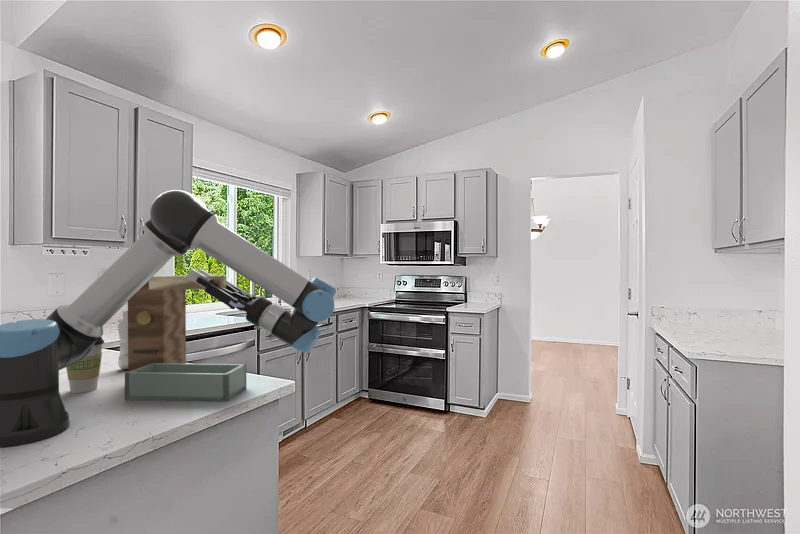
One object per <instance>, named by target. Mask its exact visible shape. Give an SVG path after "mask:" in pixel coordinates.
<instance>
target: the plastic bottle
mask: <svg viewBox="0 0 800 534" xmlns="http://www.w3.org/2000/svg"><path fill="white" fill-rule="evenodd" d="M121 317H122V319H121V320H120V322H119V323H118V324H117V330H118V336H119V337H118V338H119V356H118V362H117V365H118V367H119V369H121V370H127V369H128V309H127V310H123V311H122V315H121Z"/></svg>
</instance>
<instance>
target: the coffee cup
mask: <svg viewBox="0 0 800 534" xmlns="http://www.w3.org/2000/svg"><path fill="white" fill-rule="evenodd" d="M104 344H105V341H104V339H103V336H101V337H100V338H99V339H98V340H97V341H96V342H95V343H94V346H93V348H92V350H91V351H90V353H89V354H88V355H87V356H86V357H85V358H84V359H82V360H81V361H79V362H77V363H76V364H74V365H71V366H68V367H65V368H66V373H67V380H68V383H69V392H70V393H73V394H82V393H89V392H93V391H95V390H97V389H98V381H99V376H100V371H101V365H102V364H101V363H102V357H103V356H102V355H103V352H102V350H103V345H104Z"/></svg>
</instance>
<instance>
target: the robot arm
mask: <svg viewBox="0 0 800 534" xmlns="http://www.w3.org/2000/svg"><path fill="white" fill-rule="evenodd" d="M149 213H150V214H149V216H150V218H149V219H148V220H147V221H146V222H145V223H144V224H143V229H144V231H143V232H144V233H143V234H142V235H141V236H140V237H139V238H138V239H137V240H136V241H135V242H134V243H133V244H131V246H130V247H128V249H127V250H125V252H124V253H122V255H120V256H119V257H118V258H117V259H116V260H115V261H114V262H113V263H112V264H111V265H110V266H109V267H108V268H107V269H106V270H104V272H103V273H102V274H100V276H99V277H98V278H96V280H94V282H92V284H90V285H89V286H88V287H87V288H86V289H85V290H84V291H83V292H82V293H81V294H80V295H79V296H78V297H77V298H76V299H75V300H74V301H73V302H72V303H70V304H61V305H59V306H57V307H56V308H55V309H54V310H53V311H52V312H51V313H50V314H49V315H48V316H47V317H46V318H37V319H35V318H34V319H23V320H17V321H15V322H13V321H12V322H6V323H3V324H0V448H3V447H10V446H18V445H23V444H28V443H32V442H36V441H40V440H45V439H46V438H50V437H53V436H56V435H57V434H59V433H62V432H64V431H65V430H67V429H68V428H69V426H70V414H69V413H68V411H67V410H66V408H65V404H64V402H63V399H62V395H61V393H60V371H61V370H63V369H65V368H66V367H68V366H71V365H74V364H76V363H77V362H79V361H81V360H82V359H84V358H85V357H86V356H87V355H88V354H89V353H90V351H91V350H92V348H93V346H94V343H95V342H96V341H97V340H98V339H99V338H100V337H103V335H104V328H103V327H104V326H105V324H106V323H108V322H109V320H110V319H112V317H114V316H115V314H117V313H118V312H119V310H120V309H121V308H123V307H124V306H125V305H126V304H127V303H128V300H130V299H131V298H132V297H133V296H134V295H135V294H136V293H137V292H138V291H139V290H140V289H141V288H142V287H143V286H144V285H145V284H146V283H147V282H148V281H149V280H150V279H151V278H152V277H153V276H156V274H157V273H158V272H159V271H160V270H161V269H162V268H163V267H164V266H165V265H166V264H167V263H168V262H169V261H170V260H171V259H172V258H173V257H179V256H180V257H181V256H184V255H185V254H186V253H187V252H188V251H189V250H190V249H191V250H196V249H198V250H201V251H202V252H204V253H206V255H209V256H211V257H212V258H213V259H215V260H216V261H219V262H220V263H222V264H223V265H225V266H226V267H228V268H230V269H231V270H233V271H234V272H236V273H237V274H239V275H241V276H242V277H244V278H245V279H247V280H248V281H251V282H252V283H254V284H255V285H257V286H258V287H260V288H262V289H263V290H265V291H266V292H268V293H269V294H271V295H273V296H274V297H276V298H277V299H279V300H281V301H282V302H284V303H286V304H287V305H289V306H290V307H292V308H294V309H293V310H292V311H291V312H289V311H288V310H287V309H284V308H283V307H282V306H279V305H278V304H276V303H273V302H272V301H271V300H269V299H267V298H265V297H264V296H259V297H257V296H256V295H252V293H248V292H247V291H246V290H243V289H242V288H240V287H238V286H236V285H235V284H232V283H231V282H229V281H227V280H226V288H223V287H222V286H220V285H218V284H216V283H214V282H213V280H214V279H209V278H208V277H206V276H214V275H213V274H211V273H209V272H208V271H206V270H204V269H203V268H200V267H199V268H198V269H197V270H196V269H194V268H193V267H192V268H191V267H190V269H189V271H188V273H187V275H185V276H186V277H187V278H188V279H190V280H192V281H193V282H195V283H197V284H199V285H200V286H202V287H204V288H205V289H203V290H204V293H206V294H208V295H210V296H211V297H213V298H215V299H216V300H218V301H219V302H221V303H223V304H224V305H226V306H227V307H229V308H230V310H235V309H237V310H238V311H241V312H242V311H243V312H246V315H245V320H246V321H247V322H249V323H250V324H253V325H254V326H256V327H257V326H258V327H259V329H261V330H263V331H264V332H265V334H266V335H271V336H273V337H275V338H276V339H278V340H280V341H281V342H283V343H285V344H286V345H288V346H290V347H291V348H293V349H296V350H298V351H299V352H301V353H303V354H306V353H309V352H310V351H311V350H312V349H313V348H314V346H315V345H316V343H317V341H318V339H319V337H320V335H321V330H320V329H319V328H318V327H317V326H318V324H319V323H320V322H324V321H326V320H328V319H329V318H330V317H331V316H332V315H333V313H334V310H335V299H334V296H335V294H336V292H337V290H336V288H335V287H333V286H331V285H330V284H329V283H327V282H325V281H323V280H321V279H319V278H318V277H313V278H312V279H311V281H310V280H309V279H307V278H306V277H304V276H302V275H301V274H299V273H298V272H296V271H295V270H294V269H292V268H290V267H288V266H287V265H285V264H284V263H282V262H281V261H279V260H278V259H277V258H274V256H272V255H270V254H268V253H267V252H265V250H263V249H261V248H259V247H258V246H256V245H255V244H253V243H251V242H250V241H249V240H247V239H245V238H244V237H242V236H241V235H240V234H238V233H237V232H235V231H233V230H232V229H230V228H228V227H227V226H226V225H224V224H222V223H221V222H220V221H219V219H218V215H217V214H215V213H213V212H212V211H211V210H210V208H209V206H207V205H206V203H205V202H204V201H202V200H201V199H199V198H197V197H196V196H195V195H193V194H191V192H187V191H184V190H179V189H172V190H167V191H165V192H162V193H161V194H159V195H158V196H157V197H156V198H155V199H154V200H153V201H152V203H151V206H150V212H149Z"/></svg>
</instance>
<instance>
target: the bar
mask: <svg viewBox="0 0 800 534" xmlns="http://www.w3.org/2000/svg"><path fill="white" fill-rule="evenodd" d="M186 276H187V275H154V276H153V277H152V278H151V279H150V280H149V290H167V289H185V290H205V288H204V287H202V286H200V285H199V284H197V283H195V282H193V281H192V280H190V279H188V278H187V277H186ZM206 277H208V278H209V279H214V280H213V282H214V283H216V284H218V285H220V286H222V287H223V288H226V281H227V276H226V275H225V274H224V275H213V276H206Z"/></svg>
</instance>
